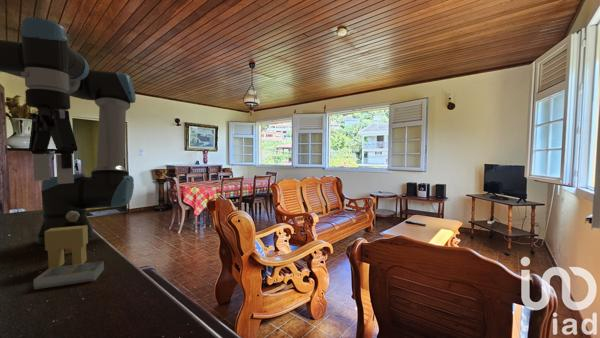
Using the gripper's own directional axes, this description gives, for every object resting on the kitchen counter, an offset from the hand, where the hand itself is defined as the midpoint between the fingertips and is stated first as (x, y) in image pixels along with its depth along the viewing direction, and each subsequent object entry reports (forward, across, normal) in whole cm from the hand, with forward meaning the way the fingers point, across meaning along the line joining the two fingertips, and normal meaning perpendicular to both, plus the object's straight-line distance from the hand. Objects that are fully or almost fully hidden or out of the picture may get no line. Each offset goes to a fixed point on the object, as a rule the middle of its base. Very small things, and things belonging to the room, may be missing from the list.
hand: (53, 181), depth 63 cm
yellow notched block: (+24, -8, +4) cm, 25 cm away
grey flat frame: (+23, +4, +1) cm, 24 cm away
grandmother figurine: (+24, -20, +10) cm, 33 cm away
